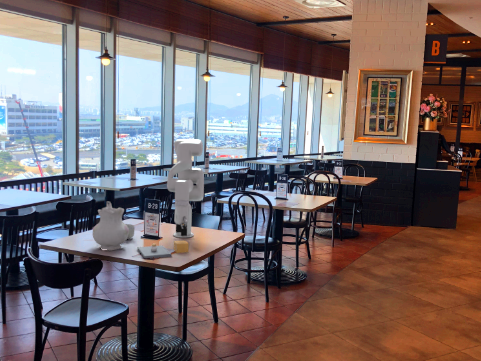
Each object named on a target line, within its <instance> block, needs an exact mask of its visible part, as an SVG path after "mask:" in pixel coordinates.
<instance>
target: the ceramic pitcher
mask: <svg viewBox="0 0 481 361" xmlns="http://www.w3.org/2000/svg"><path fill="white" fill-rule="evenodd" d="M105 203H106V206H105V207H102V208H101V209H98V210H97V212H98V214H99V219H100V220H99V222H98V223H97V224H96V225H95V226H93V228H92V238H93V240H94V241H95V243H96V244H97V245H100V246H99V249H100V248H102V249H107V250H111V251H114V250H119V248H120V249H122V244H124V243H125V242H126V241H127V240H126V239H127V238H128V235H129V228H128V227H127V225H125V224H126V223H124V222H123V219H122V218H123V214H124V212H125V209H124V208H122V207H118V208H115V207H113V206H112V203H111V201H106V202H105Z"/></svg>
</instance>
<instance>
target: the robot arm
mask: <svg viewBox="0 0 481 361" xmlns="http://www.w3.org/2000/svg"><path fill="white" fill-rule="evenodd" d="M173 147H174V152H175V155H176V163H175V164H173V166H172V167H171V168H170V170H169V171H168V173H167V180H166V182H167V183H166V187H167V190H168V191H169V192H171V193H172V192H173V193H174V206H175V207H174V208H175V209H174V223H175V232H173V237H175V238H180V239H181V238H182V239H183V238H184V239H186V238H191V237H194V235H195V234H194V233H193V232H192V216H193V215H192V214H193V212H192V209H193V208H192V205H191V204H190V202H201V201H202V200H203V199H204V195H205V194H204V192H205V191H204V190H205V188H204V187H205V183H204V182H205V174H204V170H203V169H202V168H199V167H193V160H192V157H202V155H203V150H204V144H203V141H202V140H201V139H193V138H192V139H190V138H189V139H188V138H178V139H176V140H174V142H173ZM176 175H177V178H173V177H175V176H176ZM194 184H196V185H194Z"/></svg>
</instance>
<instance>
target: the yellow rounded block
mask: <svg viewBox="0 0 481 361" xmlns="http://www.w3.org/2000/svg"><path fill="white" fill-rule="evenodd" d="M173 251H174V252H175V253H176V254H181V253H183V254H184V253H189V252H190V251H189V242H188V241H187V240H175V241H174V240H173Z"/></svg>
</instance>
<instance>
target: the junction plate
mask: <svg viewBox="0 0 481 361" xmlns="http://www.w3.org/2000/svg"><path fill="white" fill-rule="evenodd" d="M136 249H137V252H138V253H139V252H140V253H141V254H140V253H139V254H140V255H141V256H142V257H143V259H144V258H150V259H159V257H161V258H171V257H172V253H171V252H170V251H169V250H168V249H167V248H166V247H165V246H164V245H157V243H152V244H151V245H150V246H149V245H148V246H139V247H137V248H136ZM153 257H154V258H153Z"/></svg>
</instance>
